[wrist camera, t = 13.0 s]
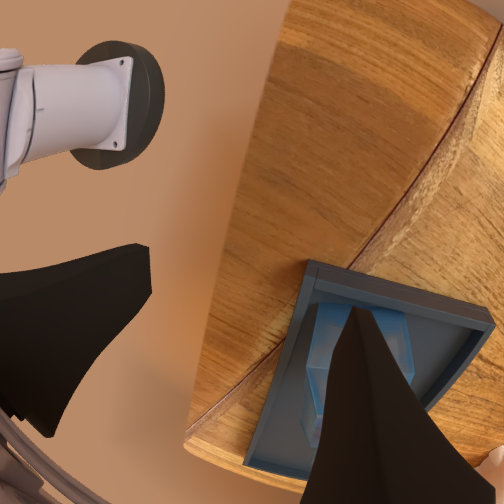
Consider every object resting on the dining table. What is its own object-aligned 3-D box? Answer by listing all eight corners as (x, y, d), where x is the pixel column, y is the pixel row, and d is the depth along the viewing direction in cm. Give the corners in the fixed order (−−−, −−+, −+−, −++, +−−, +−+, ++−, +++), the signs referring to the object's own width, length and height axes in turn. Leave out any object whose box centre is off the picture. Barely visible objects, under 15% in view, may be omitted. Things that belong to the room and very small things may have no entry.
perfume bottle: (313, 361, 22) (278, 493, 12) (319, 302, 20) (280, 459, 9) (384, 367, 20) (379, 501, 10) (403, 308, 18) (420, 467, 8)
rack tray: (246, 453, 36) (242, 464, 34) (308, 258, 19) (303, 274, 17) (339, 474, 33) (337, 486, 31) (487, 307, 16) (496, 325, 14)
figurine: (536, 431, 19) (546, 500, 6) (509, 460, 23) (512, 520, 10) (488, 448, 23) (492, 526, 10) (464, 473, 27) (463, 539, 14)
